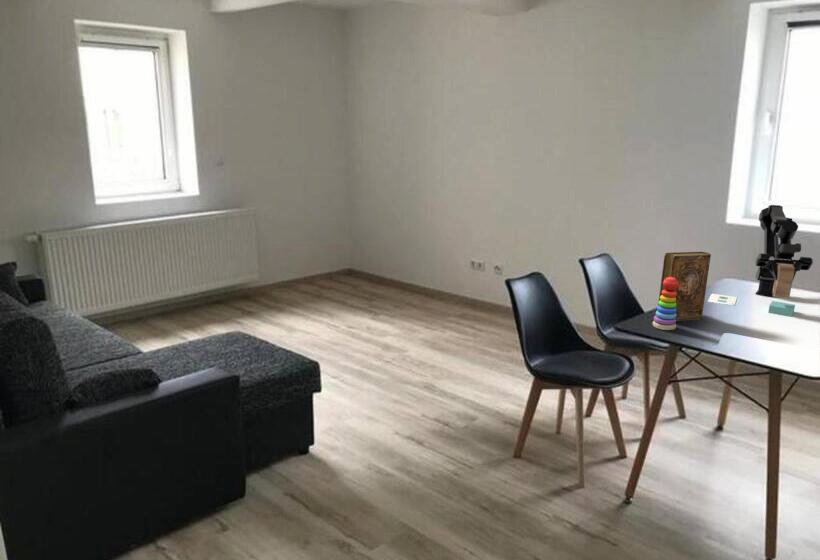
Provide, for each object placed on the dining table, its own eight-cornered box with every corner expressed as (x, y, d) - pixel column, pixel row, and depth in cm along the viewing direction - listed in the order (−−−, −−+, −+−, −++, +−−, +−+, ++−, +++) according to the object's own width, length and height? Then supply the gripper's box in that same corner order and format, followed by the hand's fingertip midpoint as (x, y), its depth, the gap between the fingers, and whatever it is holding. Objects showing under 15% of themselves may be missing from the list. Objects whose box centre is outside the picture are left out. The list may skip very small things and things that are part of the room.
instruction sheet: (711, 293, 280) (711, 293, 280) (737, 297, 275) (737, 296, 275) (707, 301, 268) (707, 301, 268) (734, 305, 263) (734, 305, 263)
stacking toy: (673, 332, 231) (680, 281, 226) (650, 328, 235) (656, 278, 230) (677, 326, 237) (684, 276, 232) (654, 322, 241) (661, 273, 236)
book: (695, 314, 251) (703, 251, 244) (704, 319, 246) (713, 254, 239) (656, 316, 248) (664, 252, 241) (664, 321, 242) (673, 256, 236)
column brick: (772, 292, 257) (777, 263, 254) (786, 294, 256) (792, 264, 252) (774, 296, 253) (780, 267, 249) (789, 298, 251) (795, 268, 248)
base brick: (771, 307, 261) (772, 300, 261) (793, 311, 257) (795, 304, 256) (768, 312, 255) (769, 305, 254) (791, 316, 251) (792, 309, 250)
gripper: (762, 233, 255) (762, 267, 247) (816, 237, 249) (818, 272, 242) (755, 248, 264) (755, 281, 257) (807, 252, 258) (809, 286, 251)
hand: (784, 280), depth 251 cm, fingers closed on column brick, 5 cm apart
